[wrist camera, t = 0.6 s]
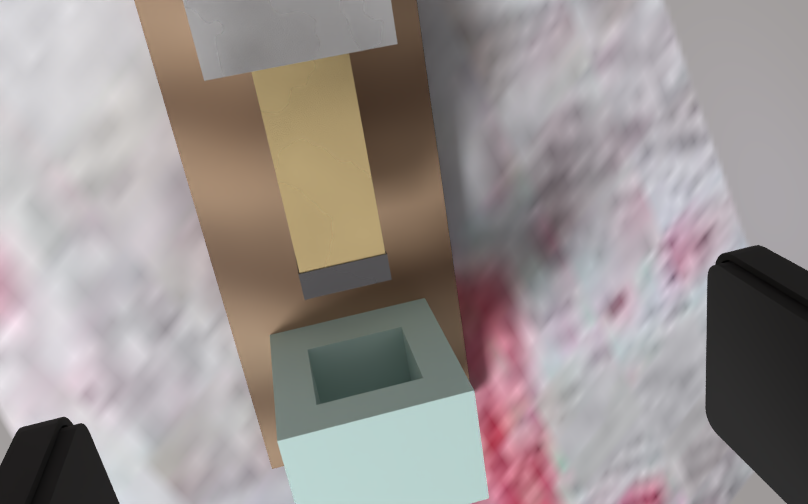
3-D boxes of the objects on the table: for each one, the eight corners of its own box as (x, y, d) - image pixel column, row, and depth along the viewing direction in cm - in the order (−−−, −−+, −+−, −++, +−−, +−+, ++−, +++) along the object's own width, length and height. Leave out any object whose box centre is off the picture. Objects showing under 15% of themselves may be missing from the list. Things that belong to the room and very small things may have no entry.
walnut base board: (7, -456, 21) (-9, -484, 20) (338, -486, 22) (344, -515, 21) (271, 449, 35) (272, 468, 34) (465, 398, 36) (474, 415, 35)
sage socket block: (269, 335, 31) (277, 441, 24) (424, 298, 32) (473, 390, 25) (294, 427, 33) (307, 548, 26) (439, 389, 34) (488, 498, 27)
